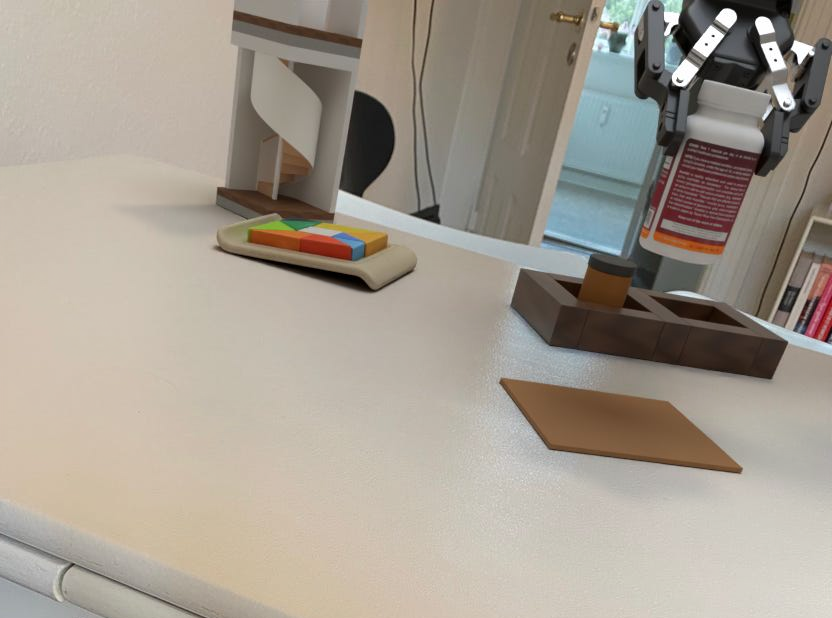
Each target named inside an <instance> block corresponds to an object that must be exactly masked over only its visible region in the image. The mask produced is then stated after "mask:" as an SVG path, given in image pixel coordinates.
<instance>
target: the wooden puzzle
mask: <svg viewBox="0 0 832 618" xmlns="http://www.w3.org/2000/svg"><path fill="white" fill-rule="evenodd" d="M388 240H389V233H387V232H382V231H376V230H370V229H366V228H365V229H364V228H359V227H353V226H347V225H341V224H335V223H333V224H330V223H323V222H319V221H313V220H308V219H301V218H296V217H290V218H287V219H282V218H281V217H280V216H279V215H278V214H276V213H273V214H269V215H265V216H261V217H257V218H253V219H245V220H241V221H238V222H235V223H234V222H233V223H230V224H227V225H222V226H219V227H218V229H217V231H216V241H217V244H218V245H219V246H220V248H221V249H223V250H224V251H226V252H227V253H230V254H236V255H242V256H245V257H246V256H247V257H252V258H257V259H263V260H269V261H274V262H279V263H286V264H289V265H296V266H300V267H307V268H313V269H317V270H318V269H319V270H323V271H327V272H328V271H329V272H335V273H339V274H345V275H349V276H350V275H351V276H356V277H358V278H360V279H362V280H363V281H364V283H366V285H367V286H368V287H369V288H370V289H371V290H373V291H376V290H378V289H380V288H383V287H384V286H386V285H388V284H389V283H391V282H393V281H395V280H397V279H399V278H400V277H402V276H404V275H406V274H407V273H409V272H411V271H413V270H414V269H415V268H416V267H417V265H418V264H417V263H418V257H417V255H416V253H415V252H414V250H413V249H411V248H410V247H408V246H406V245H403V244H397V243H391V242H388Z"/></svg>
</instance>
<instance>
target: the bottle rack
mask: <svg viewBox="0 0 832 618" xmlns="http://www.w3.org/2000/svg"><path fill="white" fill-rule="evenodd" d="M583 280H584V277H583V278H581V277H578V276H577V277H576V276H571V275H566V274H565V275H564V274H558V273H553V272H548V271H547V272H546V271H541V270H536V269H531V268H530V269H528V268H525V267H524V268H523V267H520V269H519V273H518V275H517V279H516V283H515V286H514V290H513V294H512V298H511V301H510V306H511V307H512V308H513V309H514V310H515V311H516V312H517V311H518V312H519V313H520V314H521V315H522V316H521V315H520V314H519V313H518V312H517V313H518V314H519V315H520V316H521V317H522V318H523V319H524V320H525V321H526V322H527V323H528V324H529V326H530V327H532V328H533V330H534V331H535V332H537V334H538V335H539V336H540V337H541V338H542V339H543V340H544V341H545V342H546V343H547V344H548V345H549V346H554V347H560V348H561V347H562V348H565V349H573V350H581V351H587V352H593V353H599V354H607V355H613V356H620V357H625V358H633V359H640V360H645V361H652V362H658V363H665V364H671V365H679V366H685V367H692V368H697V369H703V370H712V371H716V372H717V371H718V372H723V373H724V372H725V373H731V374H737V375H744V376H750V377H757V378H763V379H770V380H772V379H773V378H774V375H775V373H776V371H777V369H778V367H779V365H780V362H781V360H782V359H783V355H784V354H785V351H786V349H787V347H788V345H789V341H788V340H787V339H785V338H784V337H782V336H780V335H778V334H777V333H775V332H774V331H772V330H771V329H769V328H767V327H765V326H763V325H762V324H761V323H759V322H757V321H756V320H754V319H752V318H750V317H749V316H748V315H746V314H744V313H743V312H741V311H739V310H737V309H736V308H734V307H733V306H731V305H729V304H728V303H726V302H722V301H716V300H711V299H706V298H705V299H704V298H699V297H693V296H688V295H681V294H676V293H670V292H664V291H657V290H653V289H646V288H640V287H634V286H630V287H629V290H628V293H627V296H626V299H625V302H624V305H623V308H620V307H614V306H608V305H602V304H596V303H590V302H584V301H579V300H578V296H579V292H580V289H581V286H582V283H583Z"/></svg>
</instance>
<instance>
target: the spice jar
mask: <svg viewBox="0 0 832 618" xmlns="http://www.w3.org/2000/svg"><path fill="white" fill-rule="evenodd" d="M637 270H638V265H637V264H636V263H635V262H632V261H630V260H628V259H625V258H621V257H619V256H614V255H612V254H611V255H610V254H607V253H606V254H605V253H596V252H595V253H590V255H589V257H588V260H587V267H586V271H585V274H584V277H583V279H584V280H583V283H582V286H581V289H580V292H579V296H578V300H579V301H584V302H590V303H596V304H602V305H608V306H614V307H620V308H623V305H624V302H625V299H626V296H627V293H628V290H629V287H631V284H632V281H633V278H634V277H635V276H636V273H637Z"/></svg>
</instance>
